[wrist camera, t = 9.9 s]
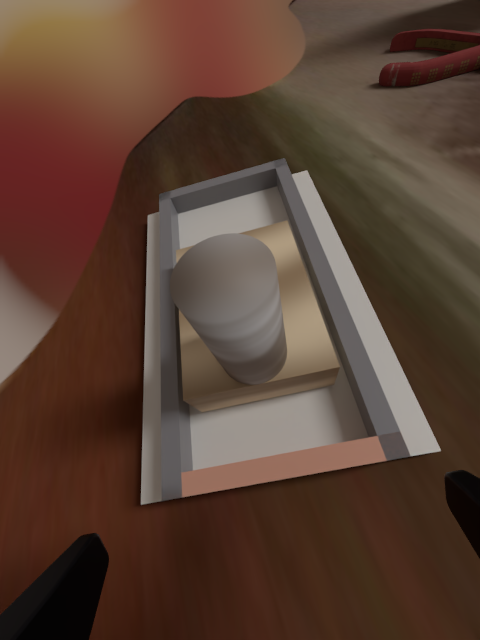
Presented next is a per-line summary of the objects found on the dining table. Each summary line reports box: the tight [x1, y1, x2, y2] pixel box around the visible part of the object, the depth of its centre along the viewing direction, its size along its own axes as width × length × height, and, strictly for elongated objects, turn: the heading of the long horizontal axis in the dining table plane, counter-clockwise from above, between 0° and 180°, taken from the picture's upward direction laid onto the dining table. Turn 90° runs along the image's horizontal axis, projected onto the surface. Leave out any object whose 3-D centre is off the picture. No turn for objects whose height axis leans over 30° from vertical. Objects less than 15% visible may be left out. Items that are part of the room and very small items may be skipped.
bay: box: [141, 158, 441, 505], centre depth 23 cm, size 27×18×3 cm, turn 9°
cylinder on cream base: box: [170, 220, 340, 412], centre depth 17 cm, size 12×9×11 cm
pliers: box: [379, 29, 480, 86], centre depth 34 cm, size 12×20×3 cm, turn 67°
